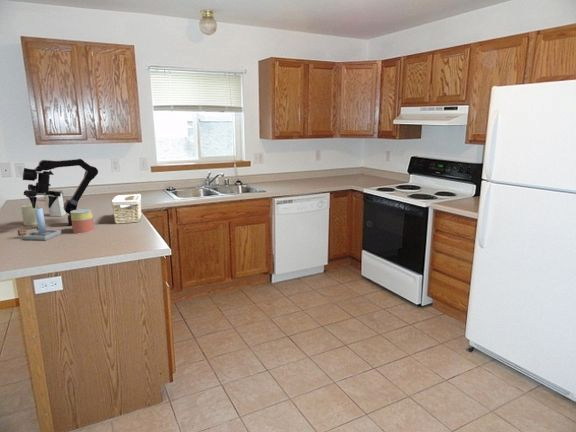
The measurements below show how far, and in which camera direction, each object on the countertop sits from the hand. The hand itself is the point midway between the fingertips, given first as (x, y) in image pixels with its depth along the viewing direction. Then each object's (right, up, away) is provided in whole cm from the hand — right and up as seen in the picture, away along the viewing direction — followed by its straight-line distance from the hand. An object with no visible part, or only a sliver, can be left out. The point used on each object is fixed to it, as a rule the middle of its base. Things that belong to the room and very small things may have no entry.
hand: (41, 208), depth 234 cm
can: (-16, -10, +16) cm, 24 cm away
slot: (-4, -13, -1) cm, 14 cm away
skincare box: (-12, -5, +37) cm, 39 cm away
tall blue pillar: (+9, -15, -14) cm, 22 cm away
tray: (+9, -16, -14) cm, 23 cm away
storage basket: (+41, -7, +25) cm, 49 cm away
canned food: (+26, -14, -2) cm, 29 cm away
